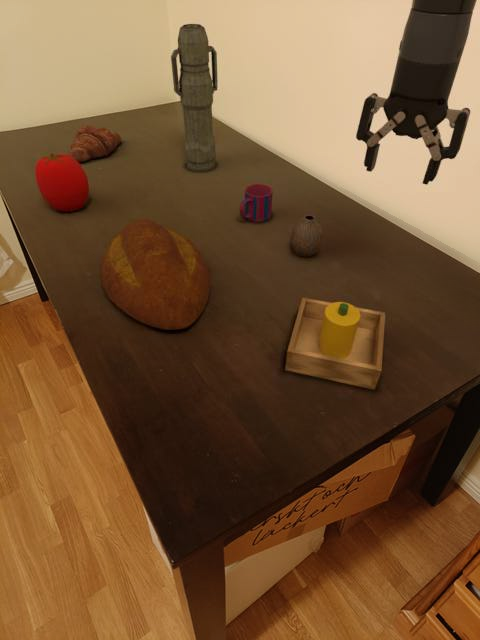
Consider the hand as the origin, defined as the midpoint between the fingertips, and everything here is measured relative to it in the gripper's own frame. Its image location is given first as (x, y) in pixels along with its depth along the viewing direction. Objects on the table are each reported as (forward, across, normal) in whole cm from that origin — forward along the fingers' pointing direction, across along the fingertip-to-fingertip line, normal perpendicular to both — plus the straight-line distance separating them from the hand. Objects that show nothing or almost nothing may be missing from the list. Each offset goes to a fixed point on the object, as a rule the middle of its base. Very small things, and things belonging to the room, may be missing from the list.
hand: (397, 175), depth 65 cm
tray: (+26, 0, +14) cm, 30 cm away
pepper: (+25, 0, +14) cm, 29 cm away
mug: (+26, +34, -17) cm, 46 cm away
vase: (+26, +17, -10) cm, 33 cm away
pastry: (+26, +97, -26) cm, 104 cm away
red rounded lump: (+26, +78, +3) cm, 82 cm away
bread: (+26, +38, +16) cm, 49 cm away
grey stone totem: (+26, +63, -35) cm, 77 cm away
